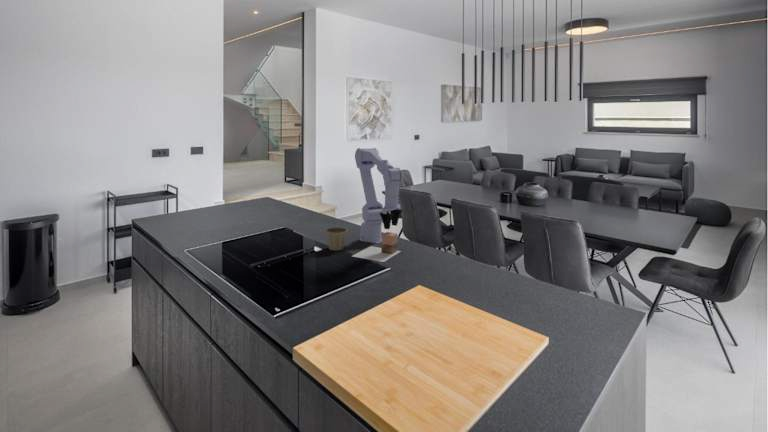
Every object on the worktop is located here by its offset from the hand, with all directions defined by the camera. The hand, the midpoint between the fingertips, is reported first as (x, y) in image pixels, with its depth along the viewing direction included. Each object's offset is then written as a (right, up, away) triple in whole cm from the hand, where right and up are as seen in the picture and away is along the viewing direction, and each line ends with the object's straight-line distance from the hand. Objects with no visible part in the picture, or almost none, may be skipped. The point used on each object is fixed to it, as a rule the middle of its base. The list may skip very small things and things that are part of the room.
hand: (390, 227), depth 187 cm
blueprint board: (-6, -12, -5) cm, 14 cm away
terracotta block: (-1, -7, -3) cm, 7 cm away
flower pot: (-24, -10, +2) cm, 26 cm away
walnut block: (-1, -11, -2) cm, 11 cm away
